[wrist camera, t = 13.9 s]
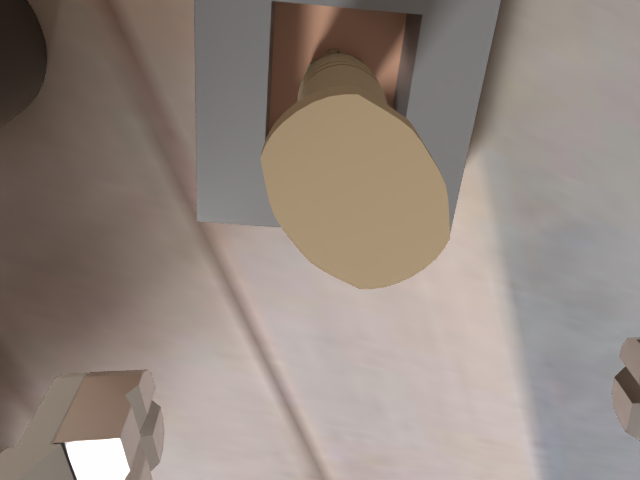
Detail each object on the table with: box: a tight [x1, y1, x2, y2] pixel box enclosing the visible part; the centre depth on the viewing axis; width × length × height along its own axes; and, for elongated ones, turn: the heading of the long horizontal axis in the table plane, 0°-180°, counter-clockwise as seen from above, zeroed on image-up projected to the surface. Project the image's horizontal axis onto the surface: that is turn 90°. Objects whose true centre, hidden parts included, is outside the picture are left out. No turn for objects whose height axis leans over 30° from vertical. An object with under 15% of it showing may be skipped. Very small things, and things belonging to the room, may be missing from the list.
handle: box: [260, 49, 450, 289], centre depth 24 cm, size 5×6×15 cm
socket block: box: [194, 0, 501, 231], centre depth 29 cm, size 14×13×4 cm
